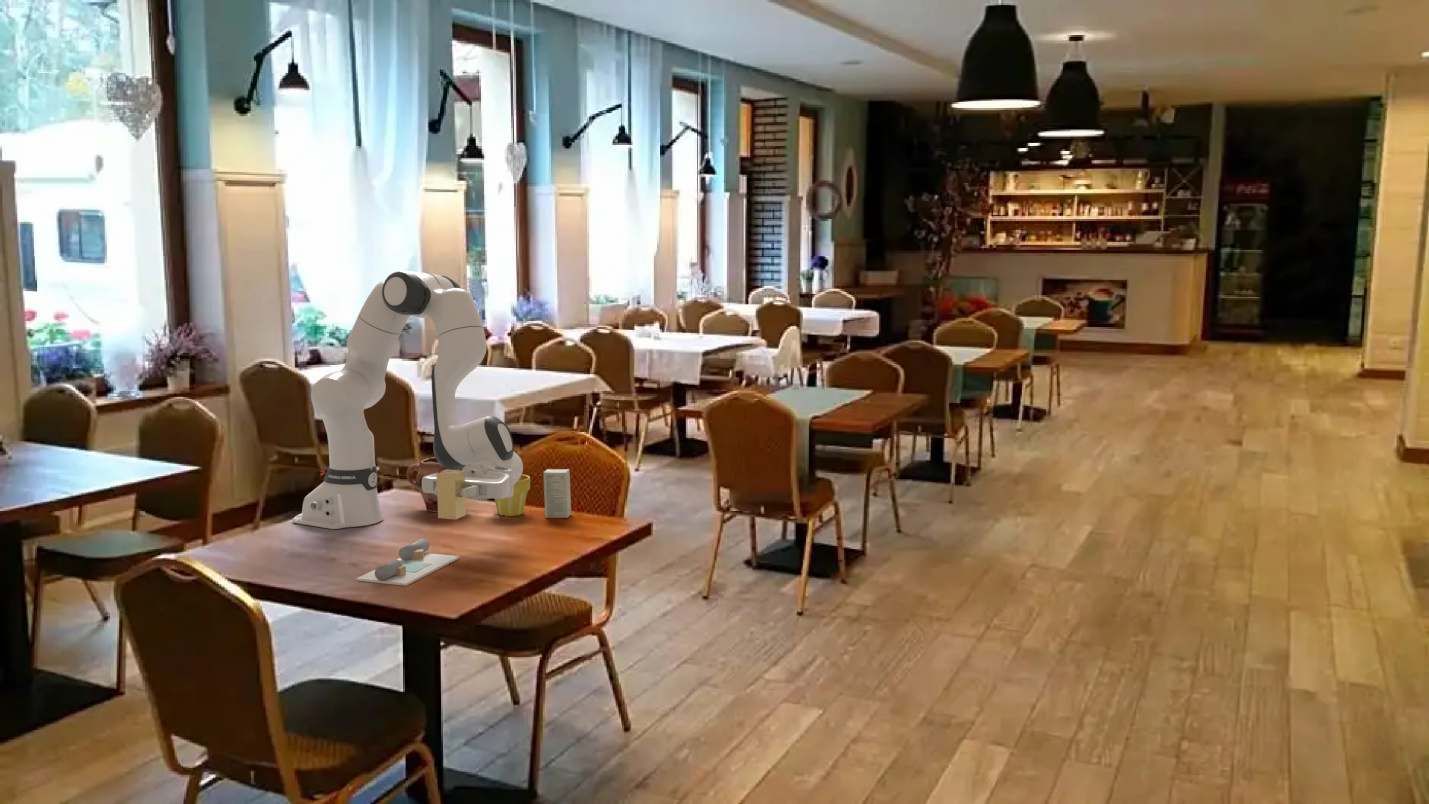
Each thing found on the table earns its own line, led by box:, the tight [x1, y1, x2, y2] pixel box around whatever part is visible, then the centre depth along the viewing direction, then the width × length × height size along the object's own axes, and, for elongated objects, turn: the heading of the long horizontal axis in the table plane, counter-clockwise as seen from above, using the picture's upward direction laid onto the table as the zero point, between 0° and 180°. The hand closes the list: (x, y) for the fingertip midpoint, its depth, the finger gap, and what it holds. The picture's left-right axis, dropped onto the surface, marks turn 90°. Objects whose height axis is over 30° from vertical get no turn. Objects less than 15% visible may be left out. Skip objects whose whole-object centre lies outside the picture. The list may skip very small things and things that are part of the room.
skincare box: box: [542, 468, 572, 519], centre depth 306 cm, size 6×4×12 cm
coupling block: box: [437, 469, 467, 520], centre depth 259 cm, size 4×4×10 cm
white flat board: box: [356, 538, 460, 586], centre depth 258 cm, size 23×12×4 cm, turn 163°
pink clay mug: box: [405, 456, 464, 513], centre depth 313 cm, size 20×12×14 cm, turn 75°
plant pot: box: [494, 473, 531, 517], centre depth 309 cm, size 10×10×10 cm
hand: (449, 492), depth 258 cm, fingers closed on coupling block, 4 cm apart
